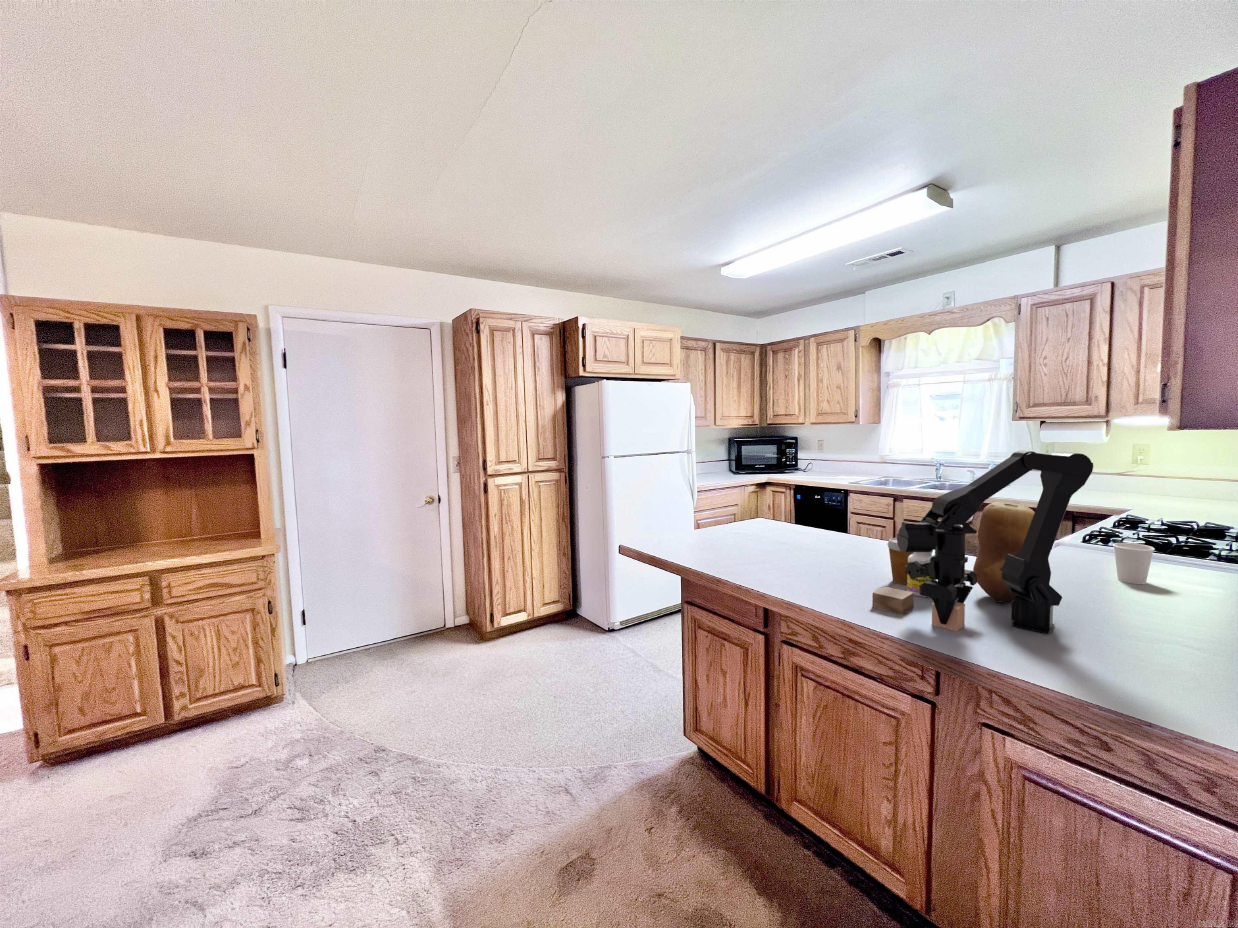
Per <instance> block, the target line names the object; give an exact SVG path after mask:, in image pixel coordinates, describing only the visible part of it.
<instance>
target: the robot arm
mask: <svg viewBox="0 0 1238 928" xmlns="http://www.w3.org/2000/svg"><path fill="white" fill-rule="evenodd" d="M1031 471H1040V482H1041V485H1042V492H1041V494H1040V498H1039V500H1038V503H1037V506H1036V508H1035V511H1034V512H1035V513H1034V516H1033V518H1032V521H1031V524H1030V527H1029V529H1028V532H1027V535H1026V537H1025V540H1024V543H1023V546H1022V548H1021V550H1020V551H1019V552H1018V553H1017V554H1015V555H1014V556H1012V555H1009V554H1007V555H1006V557H1005V562H1004V565H1003V567H1002V568H1001V569H1000V570H1001V571H1003V572H1002V579H1003V581H1004V582H1005V584H1006V585H1007V586H1008V587H1009V589H1010V592H1011V593H1012V594H1015V595H1017V596H1016V597H1015V601H1013V602H1012V603H1011V604H1010V605H1011V609H1010V610H1011V611H1010V620H1011V626H1012V627H1016V628H1021V629H1025V630H1029V631H1034V632H1038V633H1044V634H1048V635H1049V634H1050V633H1051V632H1052V631H1053V629H1054V628H1055V623H1054V621H1053V619H1054V607H1058V606H1060V603H1061V601H1062V599H1063V596H1062V595H1061V594H1060V593H1059V592H1058V591H1057V590H1056V589H1055V588H1054V587H1053V586H1051V585H1050V582H1051V576H1052V570H1051V567H1050V565H1051V564H1050V562H1049V557H1050V554H1051V551H1052V549H1053V547H1054V544H1055V542H1056V541H1055V540H1056V539H1057V536H1058V533H1059V531H1060V528H1061V525H1062V522H1063V519H1064V517H1065V514H1066V511H1067V508H1068V506H1069V503H1070V501H1071V498H1072V496H1073V495H1074V494H1076V493H1077V492H1078V491H1079V490H1080V489H1082V488H1083V487H1084V486H1085V485H1086V483H1087V481H1088V480H1089V478H1090V476H1091V474H1092V473H1093V471H1094V462H1092V460H1091V459H1090V457H1089V456H1088V455H1086V454H1084V453H1079V452H1077V453H1076V452H1065V451H1064V452H1061V451H1055V452H1052V453H1049V454H1046V453H1039V452H1038V453H1037V452H1035V451H1030V450H1017V451H1015V452H1013V453H1012V454H1011V455H1010V456H1009V457H1008V458H1006V459H1005V460H1003V461H1001V462H1000V463H999V464H997V465H996V466H994V467H993V468H991V469H990V470H988V471H987V472H985V473H984V474H982V475H981V476H979V477H977V478H976V479H975V480H973V481H971V482H970V483H969V484H967V485H965V486H963V487H961V488H957V489H953V490H950V491H947V492H945V493H943V494H941V495H939V496H937V497H935V498H934V499H933V501H932V502H931V508H930V509H929V510H928V511H927V513H926V514H925V515H924V516H923V517H922V519H921V520H920V522H910V521H902V522H901V527H900V528H899V530H898V531H897V532H898V533H897V534H896V538H897V543H898V547H899V549H900V550H901V552H931V551H932V550H933V551H934V555H932V557H931V558H930V560H927V561H921V562H917V561H914V562H908V563H907V566H906V567H905V568H906V571H905V573H906V574H908V575H909V576H910V579H916V578H919V577H926V576H929V579H933V580H928V581H926V582H925V583H923V584H922V585H920V587H919V594H920V595H922V596H927V597H926V598H929V599H930V600H931V601H932V603H934V605H935V607H936V611H937V614H938V617H939V620H940V623H941V624H944V625H946V624H947V622H948V620H949V618H950V616H951V613H952V611H953V609H954V607H955V605H956V603H957V602H959V603H964V604H965V602H966V600H967V598H968V597H969V595H970V594H971V592H972V590H973V589H974V588H973V586H975V585H976V584H978V583H977V575H976V574H975V573H974V572H973V570H969V569H965V568H966V563H968V561H969V557H968V556H966V536H967V535H966V534H968V535H969V534H972V535H973V534H978V530H977V529H975V528H973V527H972V526H971V525H970V523H969V522H968V521H969V520H970V519H971V518H972V517H974V516H975V515H976V513H977V512H979V510H980V508H981V506H982V505H983V503H985V501H987V500H988V499H990V498H991V497H992V496H994V495H996V494H997V493H999V492H1000V491H1002V490H1003V489H1005V488H1007V487H1008V486H1010V485H1011V484H1012V483H1014V482H1015V481H1017V480H1018V479H1020V478H1021V477H1023V476H1025V475H1026V474H1028V473H1029V472H1031ZM935 579H936V581H935ZM966 582H969V584H970V585H967V584H966Z"/></svg>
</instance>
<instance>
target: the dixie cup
mask: <svg viewBox="0 0 1238 928" xmlns="http://www.w3.org/2000/svg"><path fill="white" fill-rule="evenodd" d="M1112 546H1113V549H1114V559H1115V567H1116V575H1117V580H1118V581H1120V582H1122V583H1123V582H1124V583H1128V584H1136V585H1145V584H1146V583H1147V579H1148V576H1149V571H1150V567H1151V562H1152V558H1153V553H1154V551H1155V549H1156V548H1154V547H1153V546H1150V545H1145V544H1139V543H1132V542H1131V543H1129V542H1115V543H1113V544H1112Z"/></svg>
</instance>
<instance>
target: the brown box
mask: <svg viewBox="0 0 1238 928" xmlns="http://www.w3.org/2000/svg"><path fill="white" fill-rule="evenodd" d="M871 596H872V600H871V602H872V604H871V605H872V608H873V609H879V610H881V611H886V612H890V613H894V614H899V615H904V614H905V613H907V612H909V611H910V610H912V609H914V602H915V597H914V596H915V595H914V593H913V592H908V591H907V590H902V589H899V588H893V587H888V586H883V587H881V588H878V589H877V590H875V591H873V592H872V595H871Z"/></svg>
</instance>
